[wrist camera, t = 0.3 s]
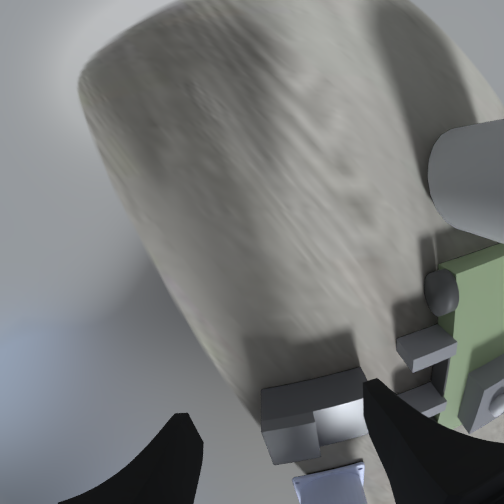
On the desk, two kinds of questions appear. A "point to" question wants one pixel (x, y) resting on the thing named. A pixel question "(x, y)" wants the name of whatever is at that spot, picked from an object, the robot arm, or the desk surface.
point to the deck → (461, 342)
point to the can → (470, 178)
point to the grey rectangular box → (312, 415)
